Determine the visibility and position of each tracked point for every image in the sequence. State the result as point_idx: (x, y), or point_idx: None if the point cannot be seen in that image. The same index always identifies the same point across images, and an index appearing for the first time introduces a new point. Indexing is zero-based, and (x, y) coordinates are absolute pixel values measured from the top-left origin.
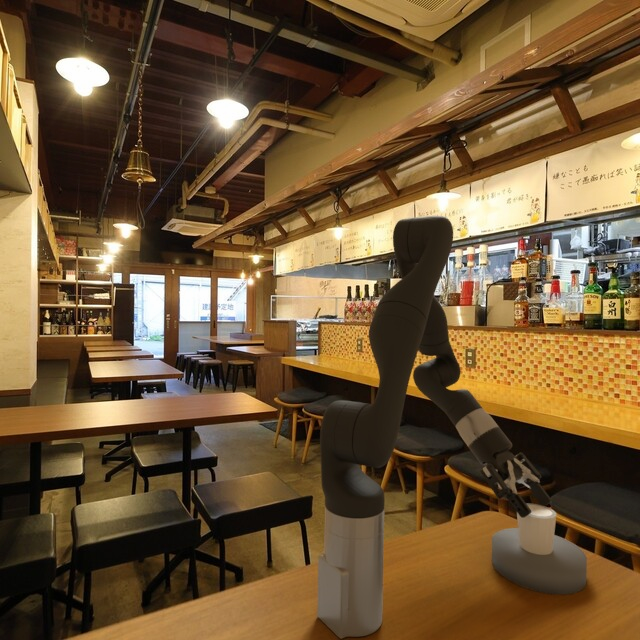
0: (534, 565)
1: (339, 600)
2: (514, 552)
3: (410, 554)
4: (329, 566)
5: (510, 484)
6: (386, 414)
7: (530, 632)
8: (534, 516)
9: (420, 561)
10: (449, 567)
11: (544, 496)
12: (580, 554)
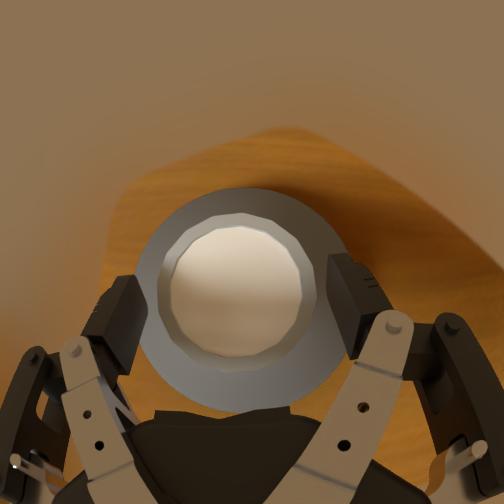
0: (336, 249)
1: None
2: (324, 315)
3: (413, 455)
4: None
5: (405, 359)
6: None
7: (422, 202)
8: (301, 258)
9: (420, 431)
10: (399, 397)
11: (128, 299)
12: (183, 217)
